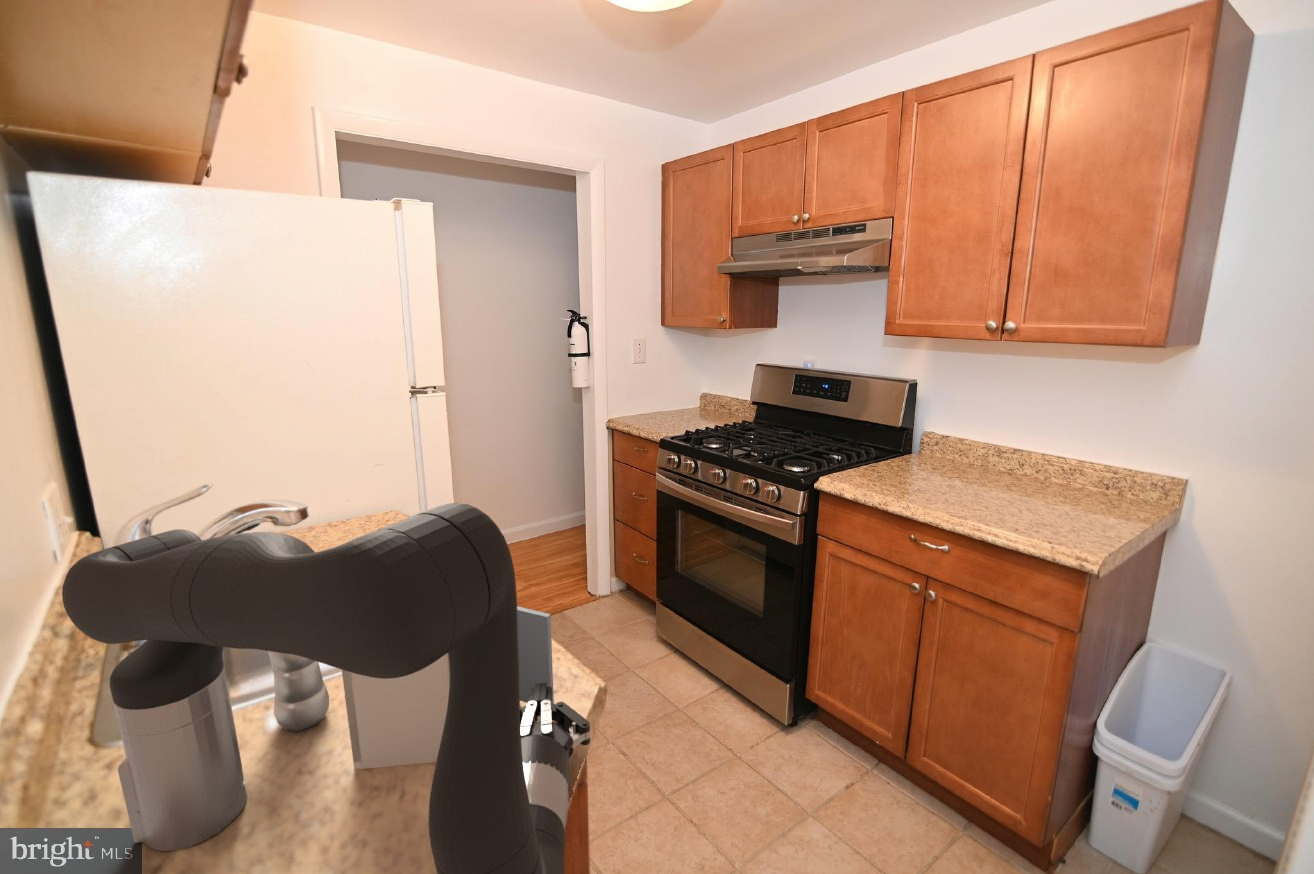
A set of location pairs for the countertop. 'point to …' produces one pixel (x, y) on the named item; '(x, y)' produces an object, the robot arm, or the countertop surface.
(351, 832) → the countertop surface
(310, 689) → the plastic bottle
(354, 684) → the box
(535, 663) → the flap
